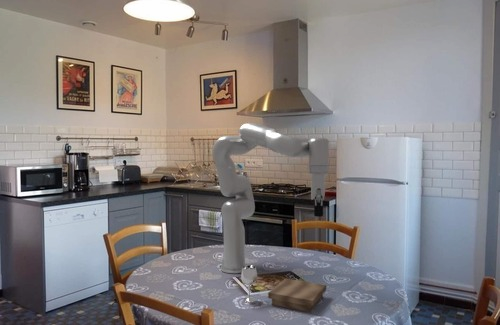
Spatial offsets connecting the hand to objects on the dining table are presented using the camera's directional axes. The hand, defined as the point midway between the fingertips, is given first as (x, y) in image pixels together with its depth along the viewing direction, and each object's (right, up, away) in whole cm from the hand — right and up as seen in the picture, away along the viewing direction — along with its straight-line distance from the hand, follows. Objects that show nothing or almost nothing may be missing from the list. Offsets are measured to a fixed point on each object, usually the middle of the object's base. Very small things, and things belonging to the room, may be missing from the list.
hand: (318, 214), depth 151 cm
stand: (-9, -30, -11) cm, 33 cm away
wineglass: (-27, -30, -10) cm, 42 cm away
